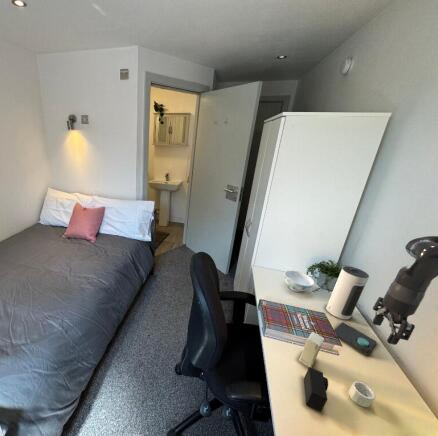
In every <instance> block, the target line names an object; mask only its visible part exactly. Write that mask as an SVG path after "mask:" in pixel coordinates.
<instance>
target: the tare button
mask: <svg viewBox="0 0 438 436" xmlns="http://www.w3.org/2000/svg"><path fill="white" fill-rule="evenodd" d="M357 343H358V344H360V345H361V346H363V347H368V345H369V342H368V341H367V340H365V339H363V338H358V340H357Z"/></svg>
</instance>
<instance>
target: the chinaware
mask: <svg viewBox="0 0 438 436" xmlns="http://www.w3.org/2000/svg"><path fill="white" fill-rule="evenodd" d="M284 280H285V283H286V284H287V285H288V288H289V289H290V290H292V291H294V292H297V293H301V292H304V291H308V290H310V289H311V288H312V287H313V286H314V284H315V281H314V279H313V278H312V277H311V276H310V275H308V274H306V273H304V272H302V271H301V272H300V271H299V270H287V271H285V272H284Z"/></svg>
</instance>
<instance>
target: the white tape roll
mask: <svg viewBox="0 0 438 436" xmlns="http://www.w3.org/2000/svg"><path fill="white" fill-rule="evenodd" d="M348 395H349V397H350V399H351V400H352V401H353V402H354V403H355V404H356V405H358V406H360V407H361V408H362V407H363V408H370V406H371V405H372V403H373V402H374V400H375V398H376V394H375V391H374V390H373V389H372V388H371V387H370V386H369V385H367V384H366V383H364V382H361V381H358V380H355V381H353V383H352V384H351V385H350V387H349V389H348Z"/></svg>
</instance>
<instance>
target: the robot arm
mask: <svg viewBox="0 0 438 436" xmlns="http://www.w3.org/2000/svg"><path fill="white" fill-rule="evenodd" d="M404 249H405V251H406V253H407V255H409V256H410V257H412V258H413V259H414V262H413V263H412V264H404V265H401V267H400V268H399V270H398V272H397V273H396V276H395V277H394V279H393V280H392V282H391V283H390V285H389V287H388V289H387V291H386V293H385V295H384V296H383V297H382V296H379V297H378V298H377V300H376V301H375V302H374V305H373V306H372V310H373V311H374V317H373V319H372V322H371V323H372V325H375V326H381V325H382V323H383V322H384V320H385V319H386V320H387V321H388V325H389V328H391V330H390V331H391V333H390V334H389V336H388V337H387V339H386V342H387V344H389V345H392V346H393V345H394V346H396V345H398V343H399V342H400V340H404V341H409V340H410V338H411V336H412V333H414V330H415V329H416V326H415V324H413V323H410V322H409V321H408V318H409V317H410V316H413V315H415V313H416V312H417V310H418V308H419V306H420V305H421V303H422V301H423V300H424V298H425V296H426V292H427V290H428V288H429V287H430V285H431V284H432V282H433V280H435V279H436V278H437V277H438V235H425V236H424V235H423V236H418V237H414V238H412V239H410V240H408V241H407V242H406V243H405V245H404ZM398 325H399V326H398Z"/></svg>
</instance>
